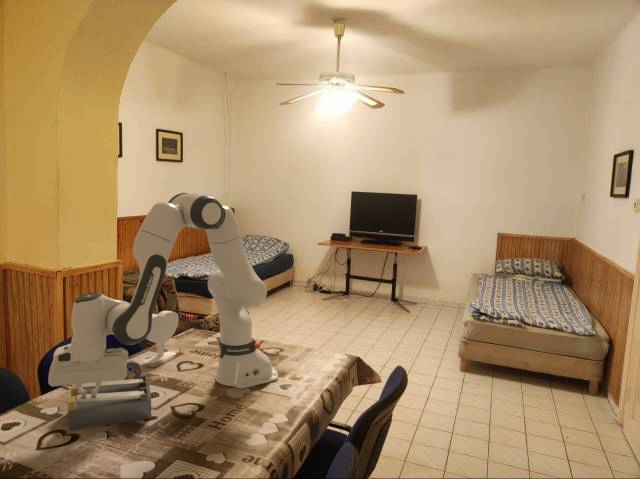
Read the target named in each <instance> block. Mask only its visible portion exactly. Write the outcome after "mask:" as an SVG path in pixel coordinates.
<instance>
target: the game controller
mask: <svg viewBox="0 0 640 479" xmlns="http://www.w3.org/2000/svg"><path fill="white" fill-rule="evenodd" d="M126 367H127V376H126V378H125V379H124V380H130V379H139V376H141V375H142V374H143V367H142V365H141V364H140V363H139V362H138V361H137V360H135V359H128V360H127V361H126ZM114 381H116V380H114Z"/></svg>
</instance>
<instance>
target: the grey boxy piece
mask: <svg viewBox="0 0 640 479" xmlns="http://www.w3.org/2000/svg"><path fill="white" fill-rule="evenodd" d="M146 376H147V375H145V374H143V375H141V376H139V379H142V380H144V381H143V382H139V385H135V386H122V387H109V388H99V389H98V391H97V394H99V393H115V392H130V391H144V392H145V394H140V398H130V399H115V400H101V401H87V402H76V399H77V395H81V393H80V392H79V391H78V389H77V388H76V384H74V385H71V389H70V396H69V397H68V401H67V416H68V417H67V418H68V431H69V432H71V431H77V430H84V429H91V428H96V427H105V426H110V425H118V424H124V423H129V422H130V423H131V422H136V421H143V420H150V419H152V398H151V397H152V396H151V390H150V389H151V388H150V387H151V386H150V381H146V380H147V379H146ZM84 390H87V394H91V391H92V389H84Z"/></svg>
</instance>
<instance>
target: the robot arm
mask: <svg viewBox="0 0 640 479" xmlns="http://www.w3.org/2000/svg"><path fill="white" fill-rule="evenodd" d="M185 227H188V228H190V229H191V228H193V229H200V230H205V233H206V237H207V241H208V245H209V249H210V252H211V257H212V261H213V263H214V264H215V266H216V267H217V268H218V269H219V270H215V271H214V272H213V273H211V274H210V276H209V278H208V279H207V289H208V291H209V293H210V294H211V296H212V297H213V300H214V302H215V305H216V307H217V308H216V309H217V311H218V317H219V326H220V338H219V341H218V357H219V358H218V359H219V360H218V365H217V366H218V367H217V371H216V375H215V381H216V382H217V383H218V384H220V385H223V386H228V387H229V386H230V387H233V388H236V389H245V388H250V387H254V386H257V385H261V384H266V383H267V384H268V383H270V382H276V381H277V380H278V378H279V374H278V371H277V370H276V368H274V367H273V366H272V363H271V362H272V361H271V359H270V358H269V357H268V355H267V354H265V353H264V352H263V351H261V350H259V349H260V348H261V344H260V343H259V342H257V340H256V339H254V338H253V337H252V332H253V331H252V324H253V321H252V318H251V316H250V314H249V313H248V310H247V309H246V308H257V307H260V306H261V305H262V304H263V303H264V301H265V300H266V299H267V298H266V297H267V295H268V292H267V291H268V288H267V285H266V284H265V282H264V281H263V280H262V279H261V278H260V277H259V275H257V273H256V271H255V270H254V268H253V266H252V264H251V263H250V261H249V259H248V256H247V254H246V251H245V247H244V242H243V239H242V234H241V230H240V227H239V224H238V220H237V218H236V216H235V214H234V211H233V210H232V208H231V207H229V206H227V205H222V203H220V201H219V200H218V199H217V198H215V197H214V196H211V195H209V194H208V195H206V194H202V193H199V192H198V193H197V192H196V193H195V192H191V193H188V192H181V193H178V194H176V195H174V196H173V197H171V198H170V199H169V200H168V201H159V202H156V203H155V204H154V205H153V206H152V207H151V209H150V210H149V212H148V213H147V214H146V216H145V217H144V219H143V221H142V223H141V225H140V227H139V230H138V231H137V234H136V236H135V239H134V242H133V245H132V246H133V247H132V254H133V256H134V257H133V258H135V260H136V262H137V265H138V268H139V279H138V282H137V285H136V287H135V290H134V293H133V296H132V298H131V302H128V301H125V300H121V299H120V300H119V299H114V298H111V297H108V296H106V295H105V294H103V293H102V292H88V293H84V294H81V295H80V296H78V297H77V298H76V299H75V300H74V302H73V305H72V310H71V324H70V325H71V331H72V338H71V342H70V343H68V344H66V345H62V346H59V347H57V348H56V349H55V351H54V353H53V359H52V362H51V364H50V367H49V372H48V377H47V378H48V382H47V383H48V385H49V386H51V387H62V386H72V385H74V384H76V388H77V389H78V391H79V392H80V393H81V398H86V396H87V390H85V389H83V388H82V384H84V383H94V382H96V387H95V389H92V391H91V394H92V395H91V397H96V396H97V391H98V389H99V388H100V386H101V382H104V381H114V380H124V379H125V378H126V376H127V367H126V361H127V360H129V352H128V349H125V348H123V347H118V348H117V347H116V348H112V347H111V348H107V336H109V335H113V336H114V338H115V339H116V340H117V341H118V342H119V343H120V344H123V345H125V346H134V345H137V344H140V343H142V342H143V341H144V340H145V339H146V337H147V336H148V335H149V333H150V331H151V327H152V314H154V313H153V312H154V308H155V305H156V302H157V299H158V296H159V294H160V291H161V287H162V284H163V282H164V278H165V276H166V273H167V272H166V271H167V266H168V262H169V258H170V256H171V253H172V251H173V248H174V247H175V246H174V245H175V243H176V242H177V239H178V236H179V234H180V232H181V230H182V229H184V228H185Z"/></svg>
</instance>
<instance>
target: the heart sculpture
mask: <svg viewBox="0 0 640 479" xmlns="http://www.w3.org/2000/svg"><path fill="white" fill-rule="evenodd" d="M178 326H179V313H177V312H174V311H171V310H162V311H160V312H159V313H158V314H157V313H156V314H155V313H152V327H151V331H150V333H149V335H148V336H147V337H146V338H145V339H146V340H147V341H149V342H152V343H155V344H157V345H156V349H157V351H156V352H157V355H155V356H151V357H149V358H146V359H144V362H145V363H147V364H154V363H157V362H159V361H162V360H164V359H167V358H170V357H173V356H175V355H177V353H176V352H175V351H164V349H165V348H164V346H165V345H166V344H167V342H168V341H169V340H170V339H171V338H172V337H173V335H174V334H175V332H176V331H177V328H178Z"/></svg>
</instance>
